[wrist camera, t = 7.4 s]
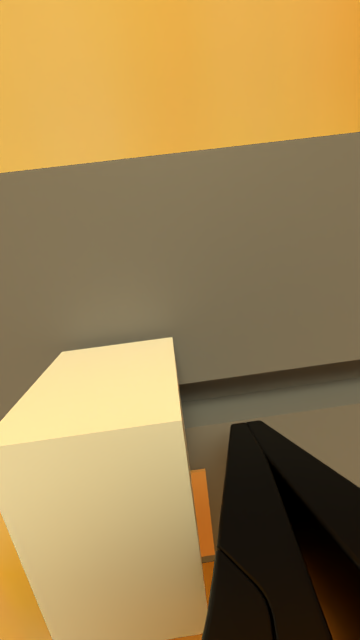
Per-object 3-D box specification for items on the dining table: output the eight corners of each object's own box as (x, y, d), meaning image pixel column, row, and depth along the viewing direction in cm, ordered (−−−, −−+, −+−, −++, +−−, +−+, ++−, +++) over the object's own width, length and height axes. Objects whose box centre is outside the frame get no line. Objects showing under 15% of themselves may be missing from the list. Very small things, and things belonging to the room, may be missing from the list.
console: (558, 131, 9) (702, 91, 7) (478, 460, 13) (551, 510, 11) (-35, 200, 9) (-112, 184, 6) (68, 522, 13) (45, 591, 10)
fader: (170, 320, 9) (182, 419, 4) (187, 445, 10) (210, 632, 5) (79, 332, 9) (-25, 449, 4) (108, 456, 10) (59, 657, 5)
